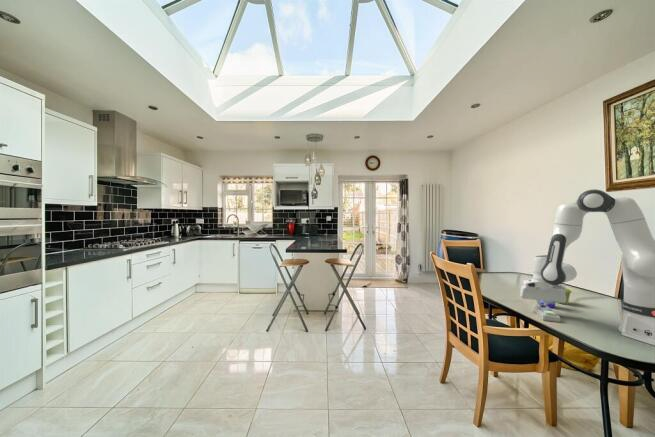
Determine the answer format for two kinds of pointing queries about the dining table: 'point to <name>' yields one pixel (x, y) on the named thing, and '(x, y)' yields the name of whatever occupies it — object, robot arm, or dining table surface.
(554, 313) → the key sage
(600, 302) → the dining table surface
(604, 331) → the dining table surface
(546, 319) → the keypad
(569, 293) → the plant pot
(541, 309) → the key slate
